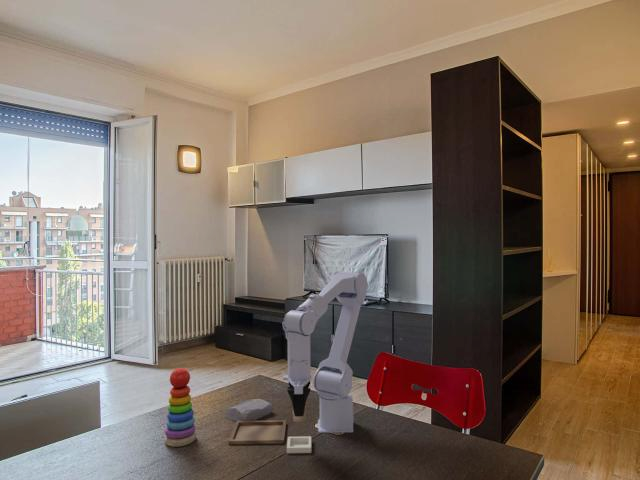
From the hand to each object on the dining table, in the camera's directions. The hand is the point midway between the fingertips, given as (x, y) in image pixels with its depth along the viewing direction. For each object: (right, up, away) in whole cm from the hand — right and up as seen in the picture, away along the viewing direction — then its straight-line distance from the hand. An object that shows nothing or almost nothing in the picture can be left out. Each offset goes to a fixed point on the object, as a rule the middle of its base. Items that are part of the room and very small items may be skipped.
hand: (299, 412), depth 108 cm
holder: (0, -9, 0) cm, 9 cm away
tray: (-11, -9, +8) cm, 16 cm away
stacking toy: (-31, -9, +4) cm, 33 cm away
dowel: (0, -2, 0) cm, 2 cm away
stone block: (-16, -10, +21) cm, 28 cm away
